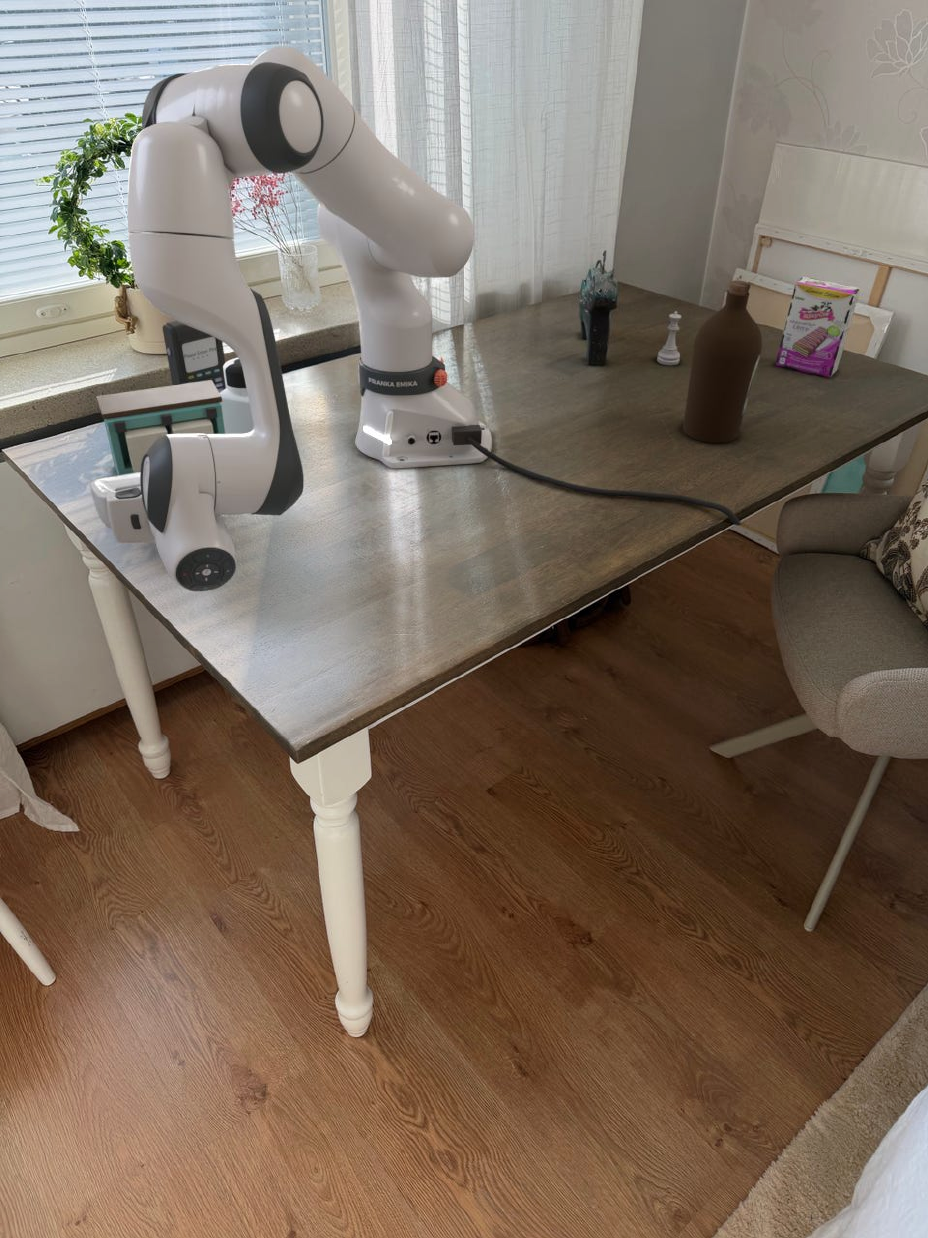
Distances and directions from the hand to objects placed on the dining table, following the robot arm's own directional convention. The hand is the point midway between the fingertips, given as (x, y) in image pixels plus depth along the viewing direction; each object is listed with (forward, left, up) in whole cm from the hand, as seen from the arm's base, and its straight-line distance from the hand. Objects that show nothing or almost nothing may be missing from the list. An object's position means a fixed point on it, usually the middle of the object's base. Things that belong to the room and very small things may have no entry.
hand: (162, 462), depth 129 cm
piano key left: (+3, -5, -3) cm, 7 cm away
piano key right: (-2, -8, -3) cm, 8 cm away
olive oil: (-85, -30, -7) cm, 90 cm away
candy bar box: (-110, -60, -7) cm, 125 cm away
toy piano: (+2, -11, -7) cm, 13 cm away
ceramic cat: (-68, -67, -7) cm, 95 cm away
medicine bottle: (-7, -26, -7) cm, 27 cm away
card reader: (+4, -35, -7) cm, 36 cm away
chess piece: (-83, -62, -7) cm, 103 cm away
